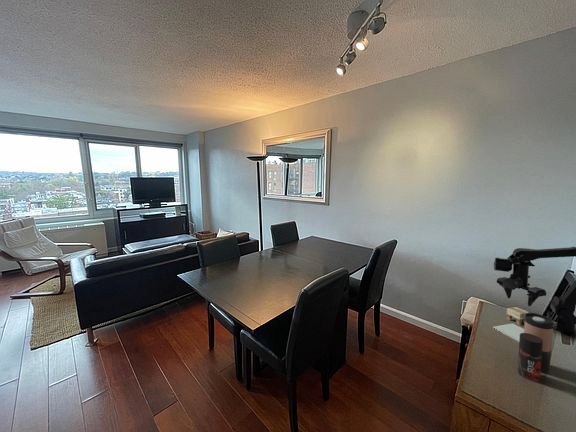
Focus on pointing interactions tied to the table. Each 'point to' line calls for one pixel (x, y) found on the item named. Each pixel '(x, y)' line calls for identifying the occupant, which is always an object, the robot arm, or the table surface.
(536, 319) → the travel mug
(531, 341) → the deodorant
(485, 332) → the table surface
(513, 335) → the board
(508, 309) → the tan box with tabs
